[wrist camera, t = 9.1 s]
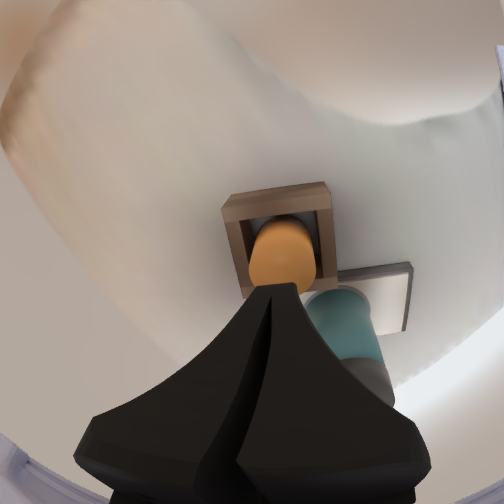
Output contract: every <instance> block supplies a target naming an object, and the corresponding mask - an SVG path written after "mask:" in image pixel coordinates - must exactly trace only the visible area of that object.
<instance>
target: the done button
mask: <svg viewBox="0 0 504 504" xmlns="http://www.w3.org/2000/svg"><path fill="white" fill-rule="evenodd" d="M315 275H316V265H315V259H314V253H313V247H312V241H311V235H310V232H309V230H308V229H307V227H306V226H305V225H304V224H303V223H302V222H301V221H299V220H298V219H295V218H293V217H289V216H278V217H274V218H272V219H270V220H268V221H266V222H265V223H264V224H263V225H262V226H261V228H260V229H259V231H258V234H257V237H256V241H255V245H254V248H253V252H252V256H251V260H250V263H249V276H250V279H251V281H252V283H253V285H254V286H255V287H256V286H261V285H270V284H280V283H289V282H294V283H295V284H296V285H297V290H298V294H299V295H301V294H303V293H304V292H305V291H306V290H308V289H309V287H310V286H311V285H312V283H313V281H314V279H315Z"/></svg>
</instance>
